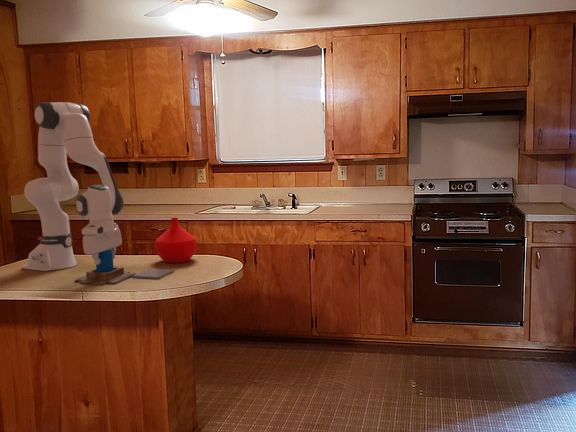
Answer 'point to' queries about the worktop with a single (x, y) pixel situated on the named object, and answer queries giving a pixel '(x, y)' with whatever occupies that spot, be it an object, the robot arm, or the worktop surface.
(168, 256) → the vase
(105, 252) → the beverage can
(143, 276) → the coaster
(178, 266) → the worktop surface
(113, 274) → the socket
